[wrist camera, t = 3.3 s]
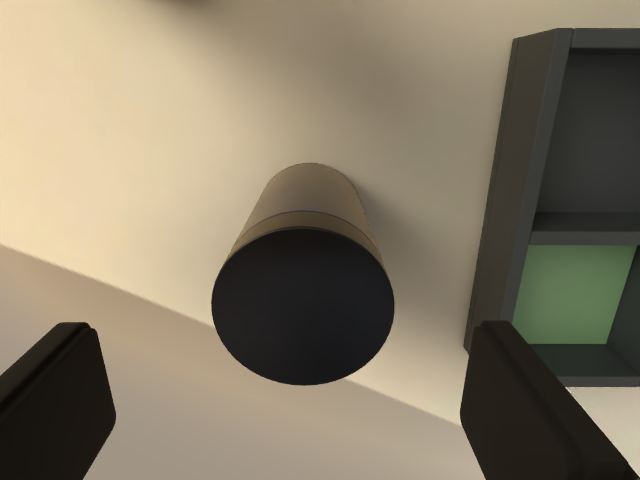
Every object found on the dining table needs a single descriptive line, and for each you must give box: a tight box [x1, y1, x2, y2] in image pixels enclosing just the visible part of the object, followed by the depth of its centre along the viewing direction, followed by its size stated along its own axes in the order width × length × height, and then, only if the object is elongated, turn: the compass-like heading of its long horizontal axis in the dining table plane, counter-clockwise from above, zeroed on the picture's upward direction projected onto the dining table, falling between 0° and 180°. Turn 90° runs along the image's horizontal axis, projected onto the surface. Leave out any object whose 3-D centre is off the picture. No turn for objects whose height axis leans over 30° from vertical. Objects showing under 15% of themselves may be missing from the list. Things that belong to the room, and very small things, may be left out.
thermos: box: [211, 163, 394, 386], centre depth 17 cm, size 6×6×10 cm
